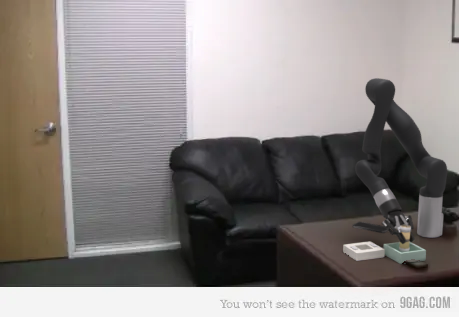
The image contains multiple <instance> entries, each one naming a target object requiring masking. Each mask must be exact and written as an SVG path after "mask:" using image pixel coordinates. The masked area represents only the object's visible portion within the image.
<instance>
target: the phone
mask: <svg viewBox="0 0 459 317" xmlns="http://www.w3.org/2000/svg"><path fill="white" fill-rule="evenodd" d="M352 228H355V229H360V230H364V231H369V232H375V233H379V234H385V233H387V232H388V230H387V229H386V228H385V227H384V226H383V225H380V224H379V225H378V224H376V223H370V222H365V221H357V222H355V223H353V224H352Z"/></svg>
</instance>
